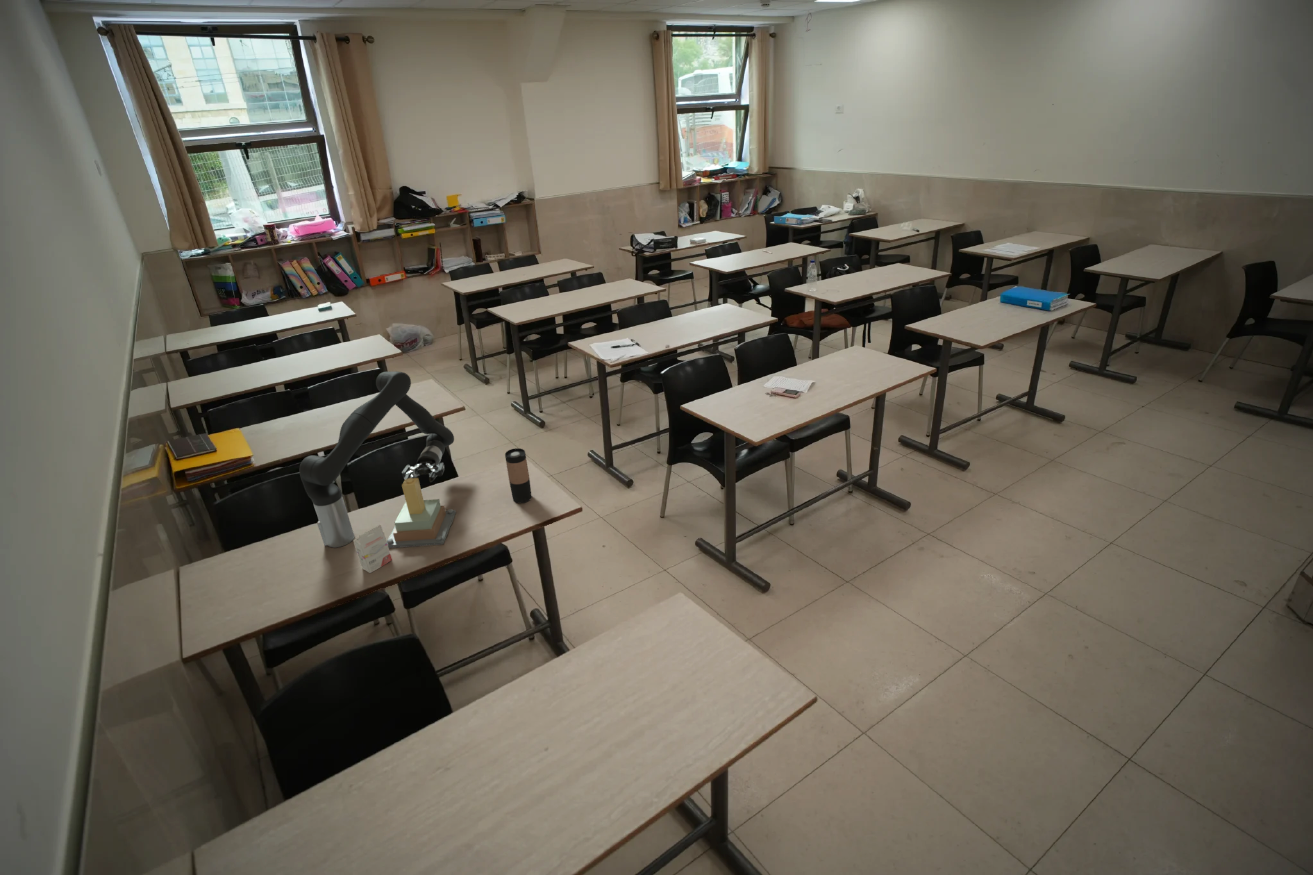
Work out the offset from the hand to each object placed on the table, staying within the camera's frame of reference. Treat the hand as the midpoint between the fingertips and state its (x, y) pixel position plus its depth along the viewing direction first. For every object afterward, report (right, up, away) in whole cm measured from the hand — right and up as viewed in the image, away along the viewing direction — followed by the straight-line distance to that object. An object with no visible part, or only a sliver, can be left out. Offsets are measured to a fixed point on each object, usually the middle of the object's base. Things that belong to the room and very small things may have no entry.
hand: (418, 480), depth 236 cm
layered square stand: (+1, -18, +1) cm, 18 cm away
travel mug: (+34, -8, +17) cm, 39 cm away
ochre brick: (+1, -10, -3) cm, 11 cm away
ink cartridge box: (-8, -27, -16) cm, 33 cm away
